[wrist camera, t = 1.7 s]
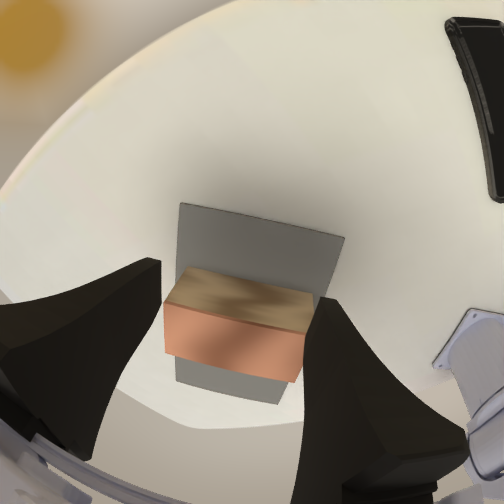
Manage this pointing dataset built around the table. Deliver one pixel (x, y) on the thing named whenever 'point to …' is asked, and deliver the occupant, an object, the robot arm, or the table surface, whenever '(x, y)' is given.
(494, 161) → the phone
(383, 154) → the table surface
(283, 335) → the oak block
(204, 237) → the rubber mat
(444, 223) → the table surface
